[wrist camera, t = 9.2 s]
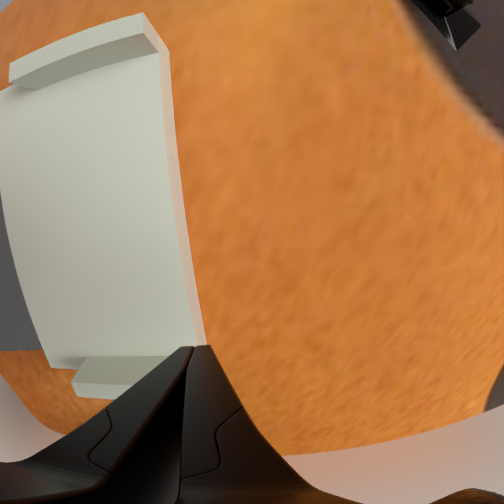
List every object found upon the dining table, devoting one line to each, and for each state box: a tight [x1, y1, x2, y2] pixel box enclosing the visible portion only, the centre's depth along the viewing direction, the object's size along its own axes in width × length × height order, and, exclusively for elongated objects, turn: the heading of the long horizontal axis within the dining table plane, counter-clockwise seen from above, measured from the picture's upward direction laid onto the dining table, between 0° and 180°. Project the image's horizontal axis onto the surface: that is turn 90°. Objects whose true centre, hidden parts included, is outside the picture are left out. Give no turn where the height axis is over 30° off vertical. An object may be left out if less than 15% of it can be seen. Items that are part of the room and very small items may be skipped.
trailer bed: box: [0, 13, 207, 399], centre depth 16 cm, size 20×12×6 cm, turn 6°
